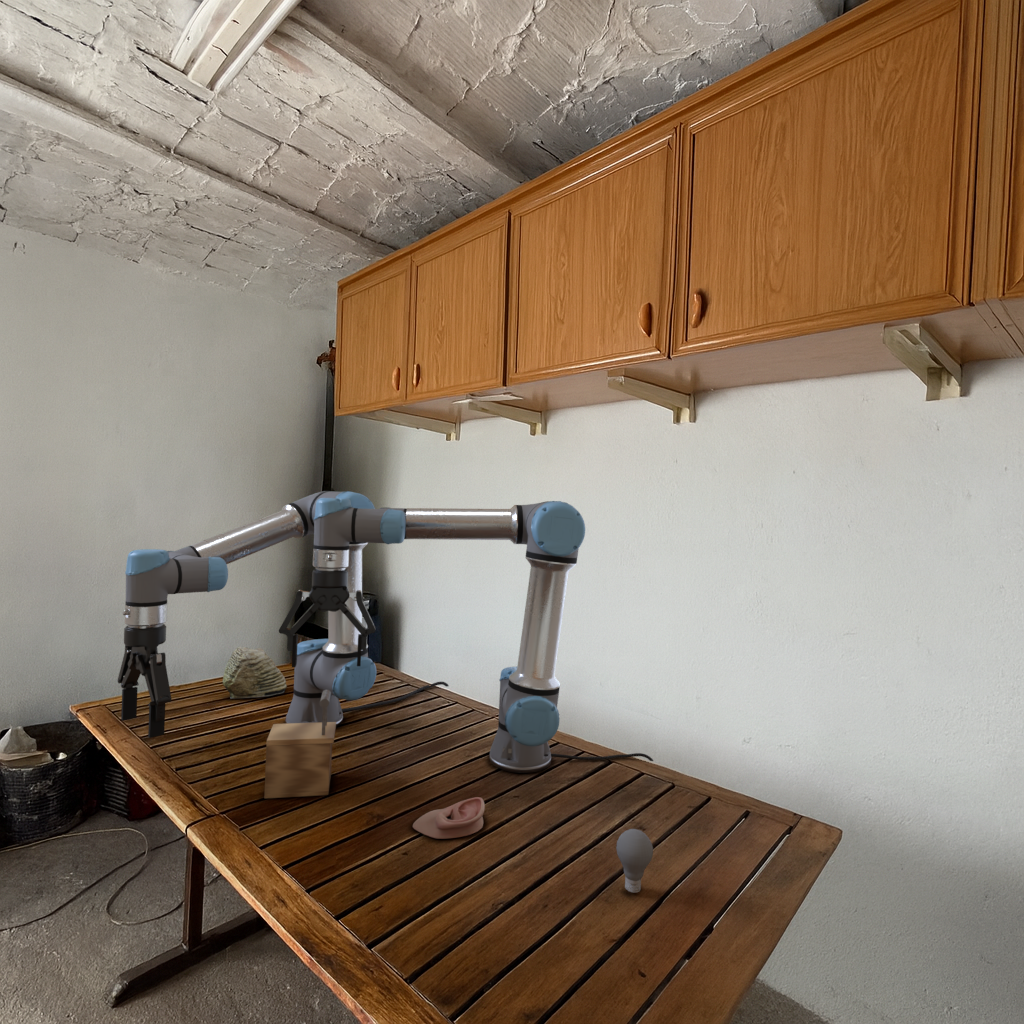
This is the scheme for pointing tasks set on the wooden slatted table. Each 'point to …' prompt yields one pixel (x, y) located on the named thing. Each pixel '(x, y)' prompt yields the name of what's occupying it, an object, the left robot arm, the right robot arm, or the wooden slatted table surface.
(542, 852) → the wooden slatted table surface
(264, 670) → the fossil
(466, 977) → the wooden slatted table surface
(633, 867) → the light bulb
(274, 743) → the lid
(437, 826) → the anatomical model
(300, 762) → the chest
